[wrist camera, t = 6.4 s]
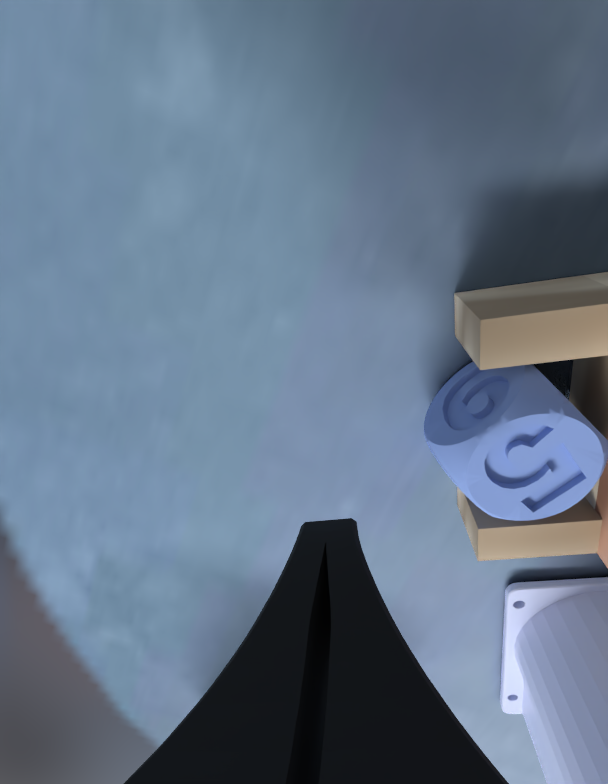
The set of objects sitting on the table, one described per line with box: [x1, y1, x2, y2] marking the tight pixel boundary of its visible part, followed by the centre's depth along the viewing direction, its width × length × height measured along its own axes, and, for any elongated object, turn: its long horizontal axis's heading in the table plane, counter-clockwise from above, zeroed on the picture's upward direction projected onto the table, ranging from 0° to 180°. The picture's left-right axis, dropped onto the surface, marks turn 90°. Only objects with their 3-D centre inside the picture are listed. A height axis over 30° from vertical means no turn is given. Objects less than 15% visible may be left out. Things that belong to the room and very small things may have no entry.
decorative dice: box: [424, 361, 608, 521], centre depth 15 cm, size 4×4×4 cm
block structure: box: [454, 272, 608, 568], centre depth 14 cm, size 9×8×5 cm
